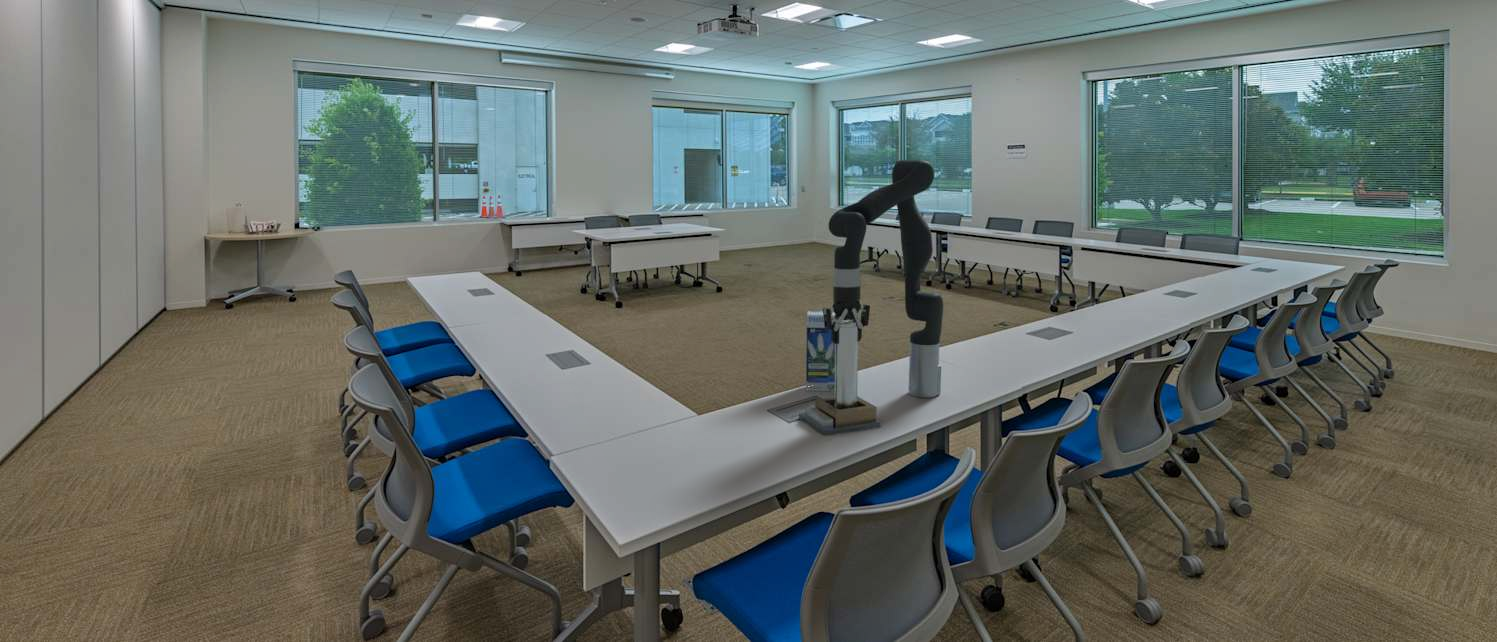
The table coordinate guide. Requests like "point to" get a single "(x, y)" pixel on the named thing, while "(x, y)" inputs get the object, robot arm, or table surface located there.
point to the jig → (840, 417)
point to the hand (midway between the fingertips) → (846, 342)
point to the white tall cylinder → (846, 366)
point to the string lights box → (819, 354)
